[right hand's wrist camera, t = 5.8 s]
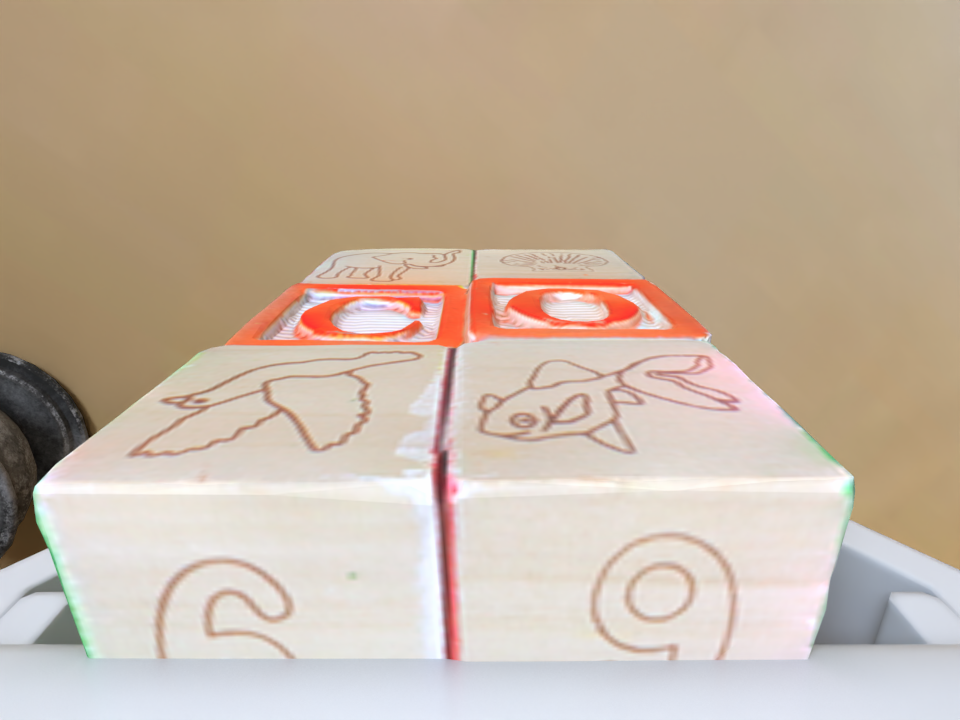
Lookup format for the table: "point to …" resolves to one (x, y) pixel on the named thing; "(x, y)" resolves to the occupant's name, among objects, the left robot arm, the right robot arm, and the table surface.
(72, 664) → the right robot arm
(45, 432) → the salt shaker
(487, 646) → the stack of blocks
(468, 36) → the table surface
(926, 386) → the table surface
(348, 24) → the table surface
